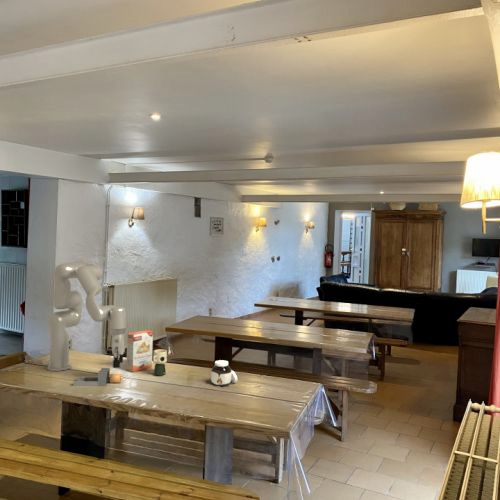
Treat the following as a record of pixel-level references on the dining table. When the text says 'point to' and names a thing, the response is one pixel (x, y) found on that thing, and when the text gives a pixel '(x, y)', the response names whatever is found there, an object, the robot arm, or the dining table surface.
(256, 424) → the dining table surface
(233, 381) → the spread jar
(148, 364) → the cracker box
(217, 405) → the dining table surface
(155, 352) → the character mug
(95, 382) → the tunnel block
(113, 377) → the grey and orange rod
